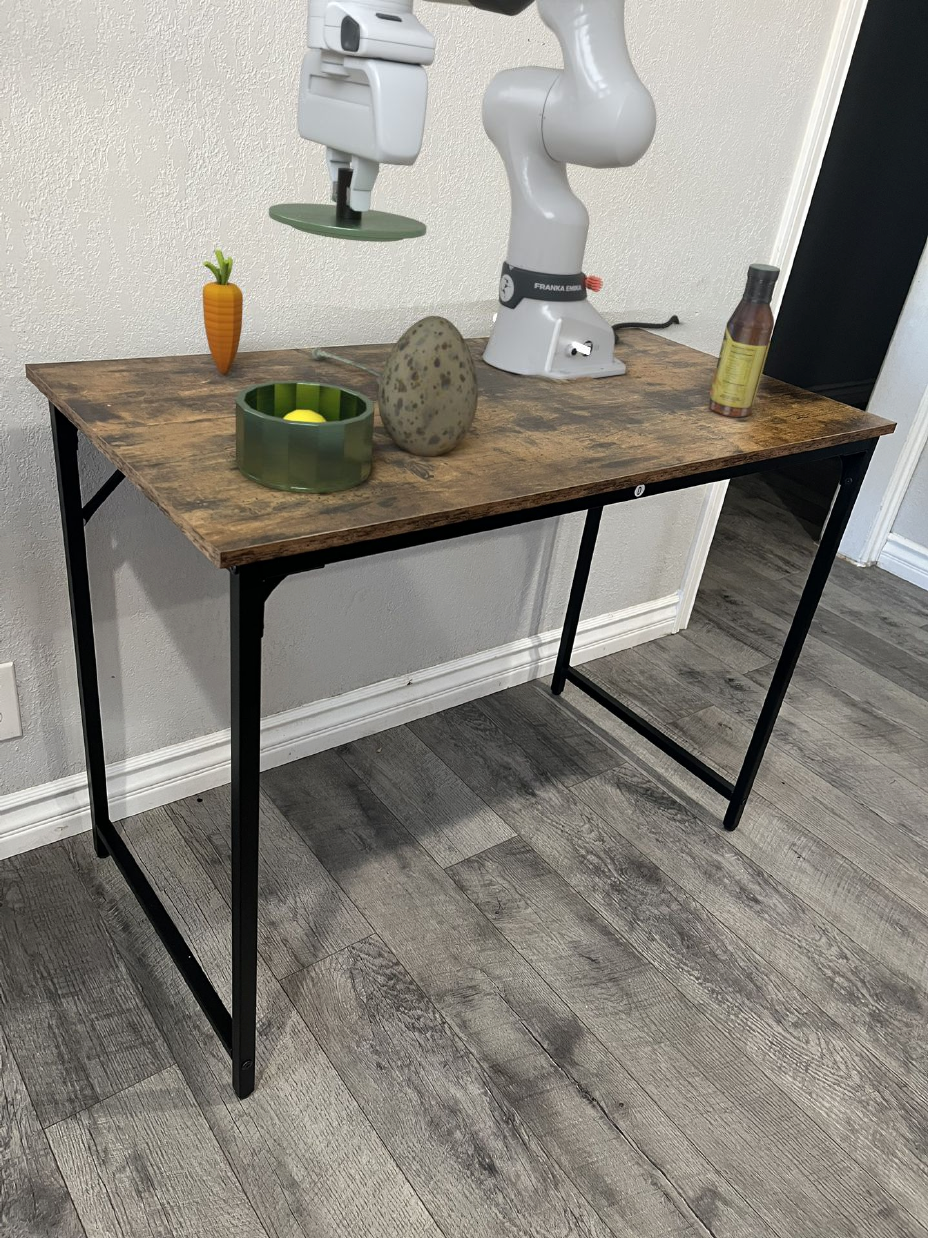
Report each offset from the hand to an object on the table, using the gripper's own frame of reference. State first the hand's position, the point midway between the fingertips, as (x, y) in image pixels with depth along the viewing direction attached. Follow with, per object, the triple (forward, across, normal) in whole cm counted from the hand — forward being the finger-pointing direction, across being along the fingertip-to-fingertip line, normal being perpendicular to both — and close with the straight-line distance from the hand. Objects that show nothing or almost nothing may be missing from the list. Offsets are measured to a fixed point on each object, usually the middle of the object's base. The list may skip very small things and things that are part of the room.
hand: (349, 206), depth 87 cm
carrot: (+25, -32, -3) cm, 41 cm away
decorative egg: (+25, -1, +11) cm, 28 cm away
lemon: (+25, 0, -4) cm, 25 cm away
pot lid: (+2, 0, 0) cm, 2 cm away
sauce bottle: (+25, -7, +62) cm, 68 cm away
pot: (+25, 0, -4) cm, 26 cm away
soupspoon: (+25, -27, +15) cm, 40 cm away
